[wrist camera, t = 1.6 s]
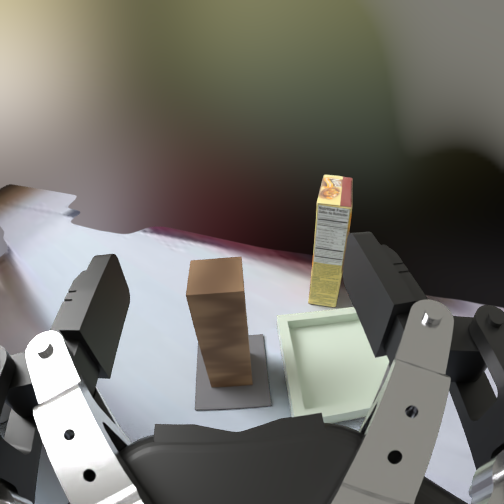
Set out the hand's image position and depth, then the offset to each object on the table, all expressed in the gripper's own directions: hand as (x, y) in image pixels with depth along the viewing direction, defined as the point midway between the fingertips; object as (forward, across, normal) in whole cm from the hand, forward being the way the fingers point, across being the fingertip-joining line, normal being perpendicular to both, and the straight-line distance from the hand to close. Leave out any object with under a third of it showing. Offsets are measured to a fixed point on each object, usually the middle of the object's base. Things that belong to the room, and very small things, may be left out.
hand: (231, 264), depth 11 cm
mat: (+12, +2, +24) cm, 27 cm away
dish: (+11, -11, +24) cm, 29 cm away
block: (+12, +2, +24) cm, 27 cm away
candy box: (+25, -12, +24) cm, 37 cm away
